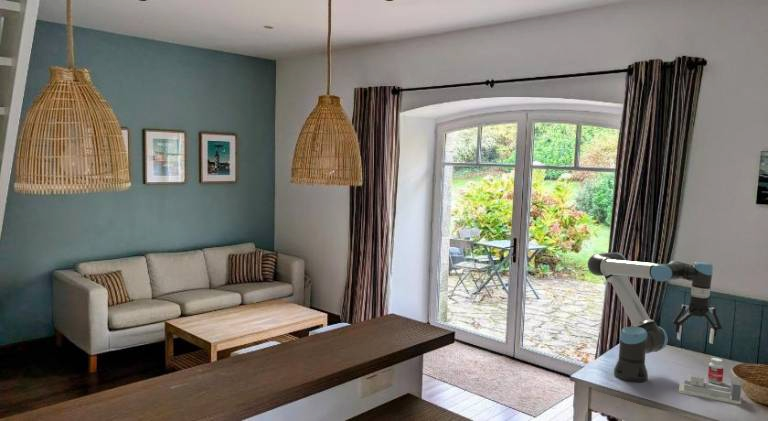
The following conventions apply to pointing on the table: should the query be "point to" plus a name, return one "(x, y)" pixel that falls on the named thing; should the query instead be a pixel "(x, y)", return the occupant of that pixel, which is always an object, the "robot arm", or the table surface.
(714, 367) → the pill bottle
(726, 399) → the base
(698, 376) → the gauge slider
